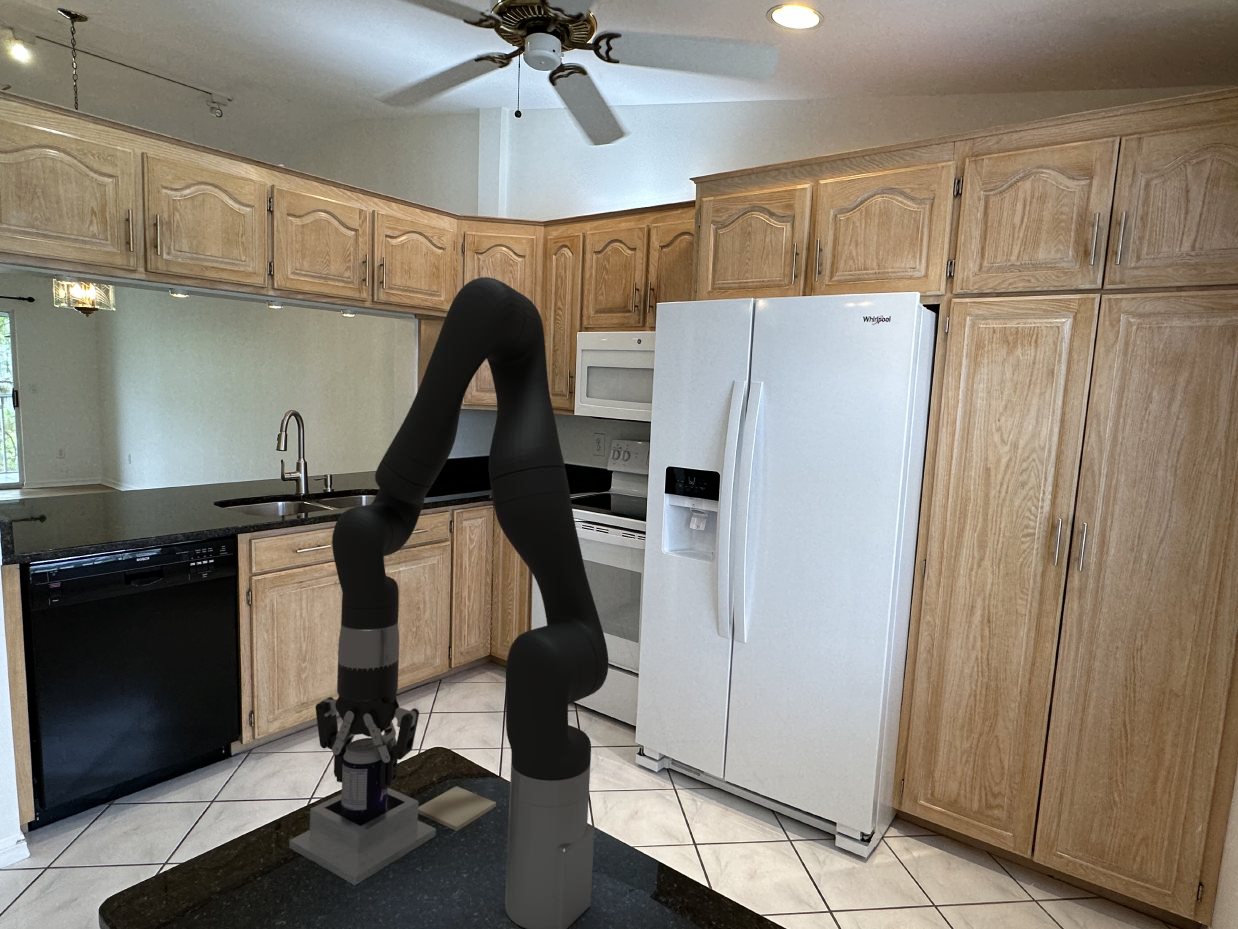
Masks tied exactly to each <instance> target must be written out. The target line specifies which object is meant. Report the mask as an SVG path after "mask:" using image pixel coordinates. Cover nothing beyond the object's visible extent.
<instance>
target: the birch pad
mask: <svg viewBox="0 0 1238 929" xmlns="http://www.w3.org/2000/svg"><path fill="white" fill-rule="evenodd" d="M494 807H495V808H496V807H497V802H496V801H493V800H491V799H489V798H486V797H484V796H482V795H479V794H476V793H473V792H471V791H469V790H467V789H464V788H462V787H459V786H457V785H456V786H453V787H452V788H450V789H448V790H447V791H445V792H443V793H442V794H440V795H438V796H435V797H434V798H433V799H431V800H429V801H426V803H423V804H421V805H420V806H418V815H421V816H423V817H425V818H427V819H429V820H431V821H433V822H436V823H438V824H441V825H443V826H445V827H447V828H449V829H451V830H453V831H455V832H458V831H459V830H461V829H463V828H464V827H466V826H467V825H469V824H471V823H473V822H474V821H475V820H478V819H479V818H480V817H482V816H484V815H485V814H487V813H489V812H490V811H491V810H493V809H495V808H494Z"/></svg>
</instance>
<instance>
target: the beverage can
mask: <svg viewBox="0 0 1238 929" xmlns="http://www.w3.org/2000/svg"><path fill="white" fill-rule="evenodd" d="M382 761H383V760H382V758H381V755H380V752H379V750H378V747H375V746H374V743H373V740H372V738H371V737H366V738H359V739H355V740H352V742H351V743H349V744H348V745H347V747H346V752H345V754H344V756H343V765H342V783H341V794H342V799H341V816H342V817H344V818H346V819H348V820H350V821H352V822H353V823H355V824H357V825H359V826H362V825H364V824H366V823H367V822H369V821H371V820H373V819H375V818H377V817H379V816H380V815H382V814H384V813H386V812H387V789H386V790H385V789H380V768H381V762H382Z"/></svg>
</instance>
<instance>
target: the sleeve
mask: <svg viewBox="0 0 1238 929" xmlns="http://www.w3.org/2000/svg"><path fill="white" fill-rule="evenodd" d="M341 799H342V793H340V794H338V795H336V796H334V797H332V798H330V799H328V800H326V801H324V802H321V803H320V804H317V805H315V806H313V807H311V808H310V810H309V830H307V831H304V832H303V833H301V834H299V835H297V836H295V837H293V838H291V839H289V846H288V847H289V848H290V849H291V850H293V851H295V852H296V853H298V854H300V855H302V856H303V857H305V858H307V859H309V860H310V861H312V862H313V863H315V864H317V865H319V866H321V867H322V868H323V869H326V870H328V872H331V873H333V874H334V875H336V876H338V877H339V878H341V879H343V880H345V881H346V882H348V883H350V884H352V885H353V886H357V885H358V884H360V883H361V882H363V881H365V880H366V879H368V878H369V877H371V876H373V875H374V874H376V873H377V872H379V871H381V870H382V869H384V868H386V867H388V866H389V865H391V864H392V863H394V862H396V861H398V860H399V859H400V858H403V856H406V855H407V854H409V853H410V852H412V851H413V850H415V849H417V848H418V847H420V846H422V845H423V844H426V842H428V841H430V840H431V839H433V838H434V837H436V835H437V834H436V832H437V831H436V830H437V829H436V828H435V827H433V826H431V825H429V824H427V823H425V822H423V821H420V820H419V814H418V807H419V803H420V802H419V800H417V799H415V798H412V797H411V796H408V795H405V794H404V793H402V792H400V791H397V790H394V789H392V788H390V787H389V788H387V812H386V813H384V814H382V815H380V816H379V817H377V818H375V819H373V820H371V821H369V822H367V823H366V824H364V825H362V826H359V825H357V824H355V823H353V822H352V821H350V820H348V819H346V818H344V817H342V816H341Z"/></svg>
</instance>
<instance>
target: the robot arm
mask: <svg viewBox="0 0 1238 929" xmlns="http://www.w3.org/2000/svg"><path fill="white" fill-rule="evenodd" d="M536 306H537V305H535V304H534V302H533V301H531V299H530V298H528V297H527V296H526V295H524V294H522V293H521V292H519V291H518V290H516V289H515V288H513V287H511V286H509V285H508V284H506V283H504V282H503V281H501V280H499V279H496V278H494V277H490V276H489V277H488V276H485V277H483V276H482V277H477V278H474V279H472V280H470V281H469V282H467V283H466V284H464V285H463V286H462V288H460V290H459V291H458V292H457V294H456V295H455V297H454V299H453V301H452V302H451V305H450V306H449V309H448V311H447V314H446V315H445V318H444V320H443V323H442V326H441V329H440V332H439V334H438V337H437V340H436V342H435V346H434V348H433V350H432V353H431V356H430V359H429V361H428V363H427V366H426V369H425V371H424V374H423V376H422V378H421V382H420V385H419V387H418V389H417V391H416V395H415V397H414V399H413V401H412V404H411V405H410V408H409V410H408V412H407V414H406V416H405V417H404V419H403V422H402V424H401V425H400V427H399V429H398V431H397V432H396V434H395V436H394V438H393V439H392V441H391V442H390V444H389V447H388V448H387V449H386V452H385V453H384V455H383V457H382V459H380V460H381V461H380V462H379V463H378V465H377V466H378V467H377V468H376V471H375V475H374V480H375V483H376V484H377V487H378V488H379V489H378V490H377V493H376V496H375V498H374V499H373V501H372V502H371V504H366V505H359V506H353V507H350V508H349V509H347V510H345V511H344V512H343V513H342V514H341V515H340V516H339V517H338V519H337V521H336V522H335V525H334V528H333V531H332V537H331V539H332V540H331V544H332V545H331V547H332V554H333V560H334V564H335V569H336V572H337V578H338V582H339V585H340V588H341V592H342V595H341V616H340V617H341V620H340V621H341V622H340V629H339V630H340V631H339V636H338V648H337V675H336V676H337V677H336V678H337V679H336V680H337V683H336V693H337V695H338V697H337V699H334V698H333V697H332V696H328V697H327V698H325V699H323V700H321V701H319V702H318V703H316V705H315V714H316V723H317V731H318V739H319V746H320V747H321V748H322V749H330V750H331V751H332V752H331V753H332V754H333V774H334V777H335V778H336V783H341V784H342V765H343V756H344V754H345V752H346V747H347V745H348V744H349V743H351V742H353V741H354V738H355V736H358V735H359V736H360V735H364V736H366V737H367V738H372V740H373V743H374V746H375V747H378V750H379V752H380V755H381V758H382V760H383V761H382V762H381V768H380V789H385V790H386V789H387V788H390V787H391V786H392V785H393V784H394V783H395V781H396V780H397V778H398V761H399V760H402V759H403V758H405V756H407V755H408V754H409V753H410V752H411V751H412V750H413V748H414V747H413V746H414V743H415V737H416V732H417V726H418V722H419V716H420V711H419V710H418V708H415V707H413V708H412V709H410V710H409V709H406V708H403V707H400V705H399V702H398V700H397V693H398V687H399V664H400V630H399V608H400V607H399V601H400V597H399V596H400V595H399V594H400V593H399V586H398V582H397V581H396V579H394V578H393V577H391V576H387V574H386V567H385V557H386V556H387V557H388V556H390V555H392V554H395V553H396V552H398V551H399V550H401V549H402V548H403V547H404V546H405V545H406V543H407V542H409V540H410V538H411V536H412V534H413V532H414V530H415V529H416V526H417V524H418V521H419V518H420V515H421V512H422V510H423V506H424V503H425V499H426V495H427V494H428V492H429V491H430V490H431V488H432V486H433V485H434V483H435V481H436V479H437V478H438V476H439V474H440V473H441V471H442V469H443V467H444V466H445V465H446V462H447V461H448V459H449V456H450V455H451V453H452V450H453V448H454V444H455V442H456V438H457V433H458V426H459V422H460V414H461V410H462V405H463V402H464V401H463V400H464V399H465V396H466V395H465V394H466V392H467V391H468V388H469V385H470V384H471V382H472V380H473V379H474V376H475V374H476V373H477V372H478V370H479V368H480V367H481V366H482V365H483V364H484V362H485V361H486V360H487V362H488V366H489V369H490V372H491V377H492V381H493V386H494V391H495V397H496V407H497V408H496V409H497V410H496V419H495V425H494V429H493V434H492V439H491V443H490V448H489V455H488V476H489V481H490V482H489V483H490V488H491V489H490V490H491V494H492V500H493V505H494V511H495V516H496V519H497V522H498V525H499V526H500V528H501V530H502V532H503V534H504V535H505V538H506V539H507V540H508V541H509V543H510V544H511V546H512V547H513V548H514V550H515V551H516V553H517V554H518V556H520V558H521V560H522V561H523V562H524V564H525V565H526V566H527V568H528V569H529V571H530V572H531V573H532V576H533V577H534V579H535V581H536V584H537V586H538V590H539V592H540V594H541V599H542V604H543V608H544V609H543V610H544V614H545V619H546V625H544V626H540V627H537V628H534V629H530V630H527V631H525V632H522V633H521V634H519V635H518V636H516V638H515V639H514V641H513V642H512V644H511V646H510V648H509V651H508V654H507V658H506V666H505V728H506V737H507V740H508V743H509V748H510V751H511V753H510V754H511V758H510V760H511V761H510V781H509V801H508V802H509V803H508V804H509V805H508V822H507V823H508V824H507V825H508V826H507V847H506V867H505V868H506V870H505V871H506V872H505V874H506V875H505V890H504V891H505V894H504V900H505V901H504V909H505V912H506V915H507V916H508V918H509V919H510V920H511V921H512V922H513V923H515V924H516V925H518V926H520V927H521V928H525V929H568V928H570V926H571V925H572V924H573V923H574V922H575V921H577V919H578V918H579V917H580V916H582V915H583V913H585V911H587V910H588V909H589V907H591V903H592V902H591V900H592V887H593V886H592V883H593V881H592V880H593V865H594V864H593V861H594V844H595V843H594V842H595V829H594V827H593V826H591V825H589V824H588V820H589V800H590V798H589V797H590V782H591V781H590V780H591V779H590V778H591V761H592V760H591V759H592V758H591V757H592V742H591V740H590V736H588V734H587V733H586V732H585V731H583V730H582V729H580V728H578V727H576V726H573V725H570V724H569V705H570V704H573V703H575V702H578V701H579V700H582V699H585V698H586V697H587V698H588V697H589V696H591V695H594V694H595V693H597V692H598V691H599V690H601V688H602V687H603V686H604V683H605V682H606V680H607V676H608V671H609V654H608V652H609V651H608V646H607V642H606V638H605V634H604V630H603V627H602V623H601V621H600V617H599V613H598V610H597V606H596V604H595V600H594V596H593V592H592V589H591V586H590V584H589V580H588V576H587V572H586V566H585V564H584V558H583V555H582V554H583V553H582V550H581V544H580V540H579V537H578V536H579V535H578V531H577V526H576V523H575V522H576V521H575V516H574V513H573V504H572V498H571V491H570V487H569V480H568V476H567V471H566V466H565V460H564V457H563V453H562V448H561V443H560V438H559V433H558V427H557V423H556V416H555V413H554V408H553V404H552V399H551V393H550V386H549V385H550V384H549V378H548V377H549V376H548V367H547V366H548V364H547V355H546V342H545V330H544V324H543V320H542V316H541V314H540V311H539V310H538V308H537V307H536ZM337 713H338V715H339V717H340V718H341V720H342V723H341V725H340V727H339V726H338V718H337ZM395 718H396V722H397V724H396V726H397V728H399V730H398V734H397V732H396V729H395V726H394V723H393V720H394V719H395ZM383 732H384V733H383ZM382 733H383V734H382ZM396 735H397V738H396Z"/></svg>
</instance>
